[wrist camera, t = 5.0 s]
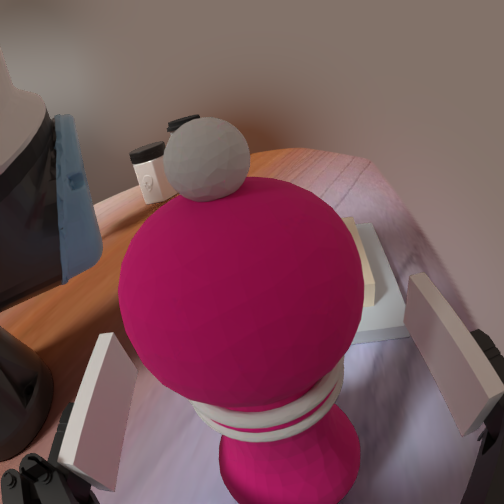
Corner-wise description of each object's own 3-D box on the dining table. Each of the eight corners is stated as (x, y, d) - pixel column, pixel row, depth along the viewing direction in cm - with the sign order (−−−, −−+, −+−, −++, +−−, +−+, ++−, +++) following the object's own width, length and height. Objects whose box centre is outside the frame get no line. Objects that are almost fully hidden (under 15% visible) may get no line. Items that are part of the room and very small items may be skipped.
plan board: (203, 353, 27) (189, 321, 25) (235, 248, 42) (228, 221, 40) (409, 336, 24) (416, 301, 22) (371, 233, 39) (370, 204, 37)
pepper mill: (229, 452, 19) (77, 149, 8) (329, 419, 19) (296, 89, 9) (256, 543, 12) (-59, 258, 2) (372, 502, 13) (483, 106, 3)
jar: (137, 207, 67) (120, 157, 61) (151, 193, 74) (136, 147, 68) (173, 200, 66) (157, 146, 60) (184, 186, 72) (170, 138, 66)
